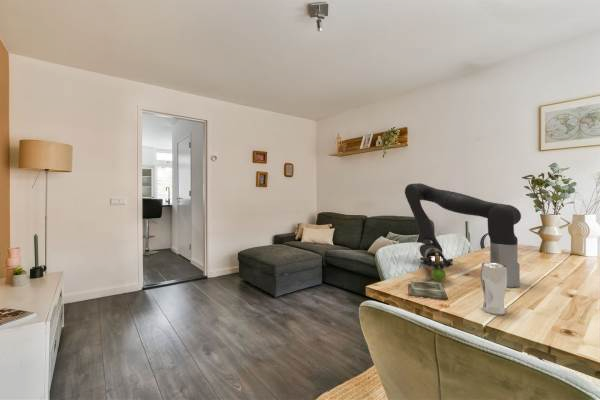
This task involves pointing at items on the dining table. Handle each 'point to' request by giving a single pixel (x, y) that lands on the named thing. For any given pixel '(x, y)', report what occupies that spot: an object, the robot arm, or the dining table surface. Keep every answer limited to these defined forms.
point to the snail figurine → (438, 270)
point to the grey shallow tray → (427, 290)
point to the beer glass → (494, 287)
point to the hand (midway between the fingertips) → (439, 266)
